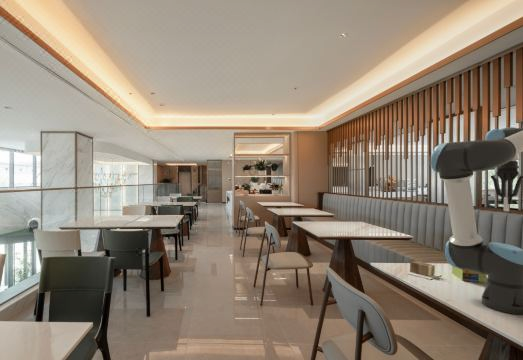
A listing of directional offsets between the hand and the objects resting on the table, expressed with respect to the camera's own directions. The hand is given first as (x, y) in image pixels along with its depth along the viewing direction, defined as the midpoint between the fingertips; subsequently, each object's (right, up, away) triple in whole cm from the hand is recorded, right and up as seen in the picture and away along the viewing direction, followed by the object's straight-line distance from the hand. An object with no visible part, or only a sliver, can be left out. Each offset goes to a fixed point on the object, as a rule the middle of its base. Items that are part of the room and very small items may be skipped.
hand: (506, 210), depth 153 cm
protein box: (-12, -34, +9) cm, 38 cm away
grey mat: (-33, -33, +11) cm, 48 cm away
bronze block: (-37, -30, +16) cm, 50 cm away
